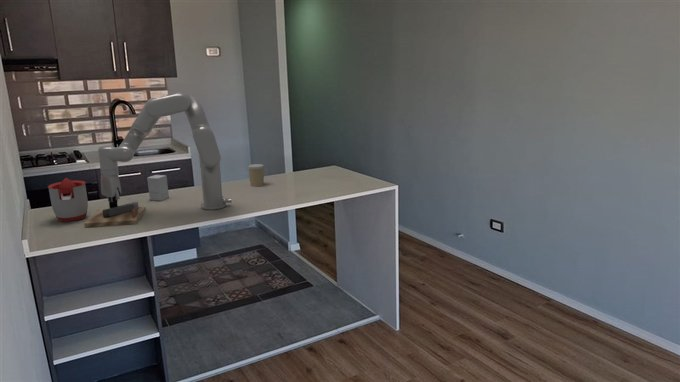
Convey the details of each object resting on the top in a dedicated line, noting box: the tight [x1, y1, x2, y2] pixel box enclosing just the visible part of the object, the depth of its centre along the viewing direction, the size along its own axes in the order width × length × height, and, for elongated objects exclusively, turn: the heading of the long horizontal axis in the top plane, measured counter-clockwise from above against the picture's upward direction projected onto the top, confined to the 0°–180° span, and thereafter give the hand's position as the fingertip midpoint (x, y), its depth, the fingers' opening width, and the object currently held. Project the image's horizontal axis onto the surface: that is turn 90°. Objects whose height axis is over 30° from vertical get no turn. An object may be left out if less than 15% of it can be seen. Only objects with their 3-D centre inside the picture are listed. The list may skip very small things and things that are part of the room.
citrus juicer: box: [47, 177, 89, 223], centre depth 226 cm, size 16×17×20 cm
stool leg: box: [102, 201, 140, 217], centre depth 229 cm, size 18×3×3 cm, turn 144°
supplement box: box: [146, 174, 170, 202], centre depth 259 cm, size 7×7×13 cm
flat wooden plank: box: [83, 206, 147, 229], centre depth 227 cm, size 22×22×6 cm
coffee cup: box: [247, 163, 265, 188], centre depth 287 cm, size 9×9×12 cm
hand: (113, 209), depth 230 cm, fingers closed
